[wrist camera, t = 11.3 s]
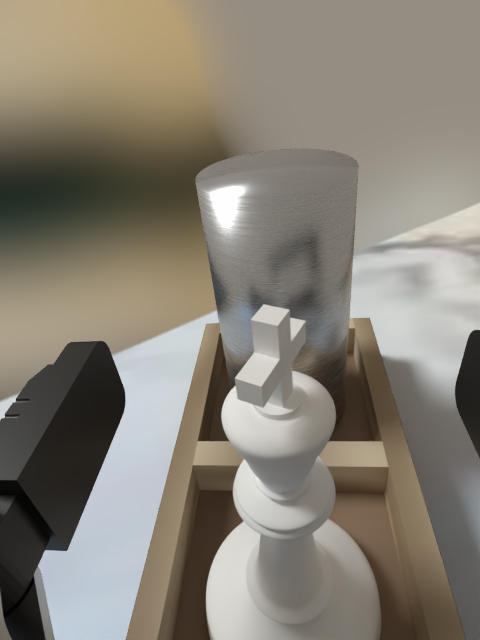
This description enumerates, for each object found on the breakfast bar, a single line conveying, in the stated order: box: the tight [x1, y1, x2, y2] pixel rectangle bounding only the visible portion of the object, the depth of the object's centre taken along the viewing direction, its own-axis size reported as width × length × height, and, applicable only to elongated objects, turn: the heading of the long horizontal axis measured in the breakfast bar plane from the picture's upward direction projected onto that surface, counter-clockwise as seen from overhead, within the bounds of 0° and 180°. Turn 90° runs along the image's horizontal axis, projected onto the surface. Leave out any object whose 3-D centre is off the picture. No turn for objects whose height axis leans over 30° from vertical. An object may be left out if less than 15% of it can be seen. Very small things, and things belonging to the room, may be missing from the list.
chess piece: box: [206, 304, 381, 640], centre depth 9 cm, size 5×5×10 cm
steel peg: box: [196, 149, 358, 431], centre depth 15 cm, size 5×5×10 cm
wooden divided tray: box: [126, 318, 466, 640], centre depth 15 cm, size 8×16×2 cm, turn 175°
